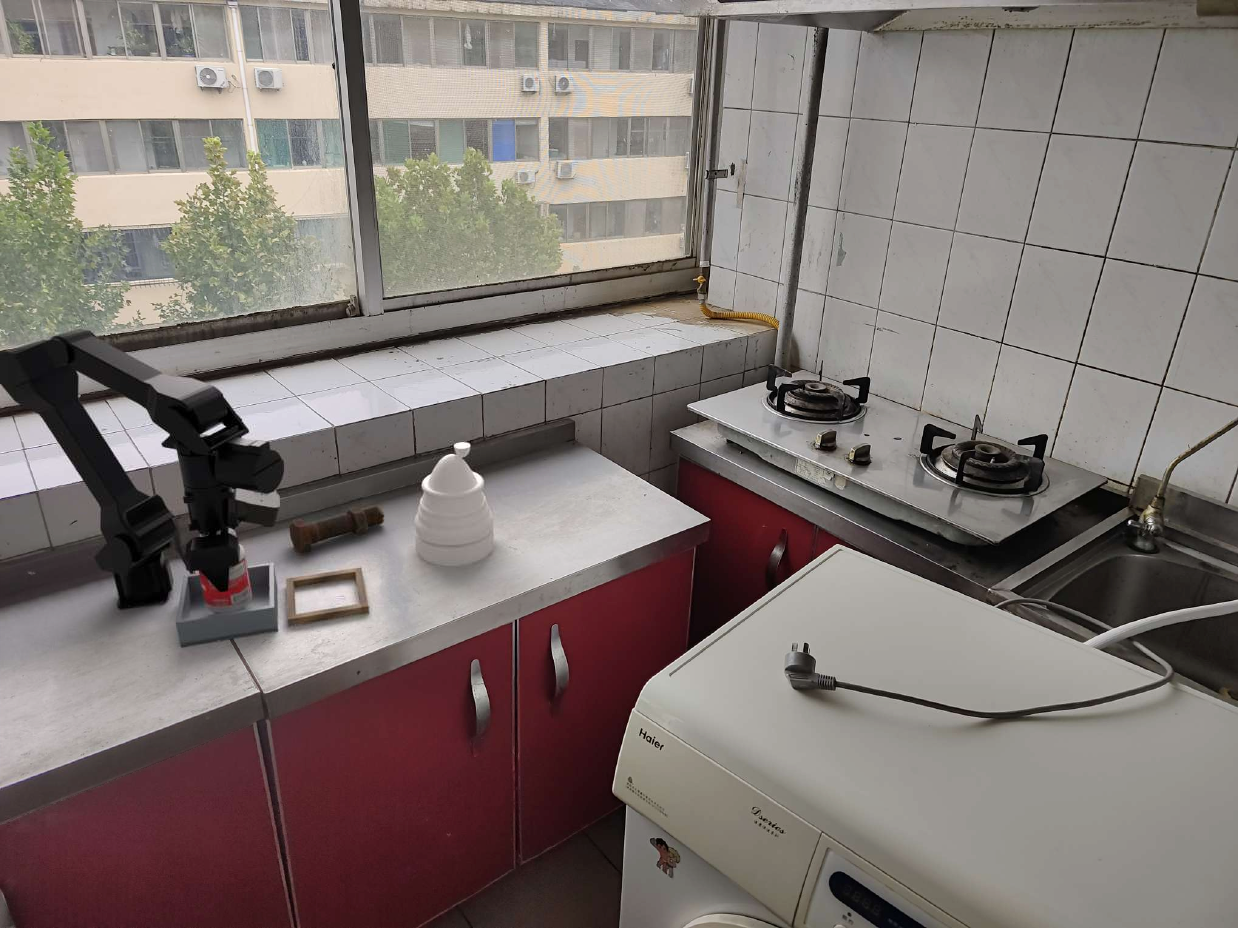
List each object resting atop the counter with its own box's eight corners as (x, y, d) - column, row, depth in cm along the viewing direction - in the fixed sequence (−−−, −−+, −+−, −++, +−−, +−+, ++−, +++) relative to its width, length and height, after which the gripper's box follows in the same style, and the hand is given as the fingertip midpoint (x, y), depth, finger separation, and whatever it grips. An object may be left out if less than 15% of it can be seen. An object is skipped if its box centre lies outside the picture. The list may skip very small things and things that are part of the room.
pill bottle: (212, 591, 120) (199, 524, 116) (257, 589, 121) (246, 523, 117) (200, 616, 115) (186, 547, 110) (246, 613, 116) (235, 545, 111)
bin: (181, 647, 112) (175, 622, 110) (188, 598, 122) (183, 575, 120) (278, 630, 116) (274, 607, 114) (277, 584, 126) (273, 562, 124)
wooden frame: (288, 626, 117) (287, 619, 116) (287, 585, 126) (286, 578, 125) (369, 612, 121) (368, 606, 120) (362, 573, 130) (361, 567, 129)
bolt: (384, 535, 145) (299, 560, 135) (371, 513, 147) (287, 536, 137) (390, 515, 141) (304, 540, 131) (378, 493, 143) (291, 515, 133)
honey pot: (474, 520, 147) (471, 426, 139) (506, 553, 137) (505, 454, 130) (404, 537, 140) (397, 440, 133) (433, 573, 131) (427, 471, 123)
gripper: (272, 503, 105) (287, 605, 111) (272, 445, 120) (285, 538, 127) (174, 514, 101) (195, 620, 107) (186, 453, 117) (205, 549, 123)
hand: (225, 578), depth 116 cm, fingers closed on pill bottle, 6 cm apart
